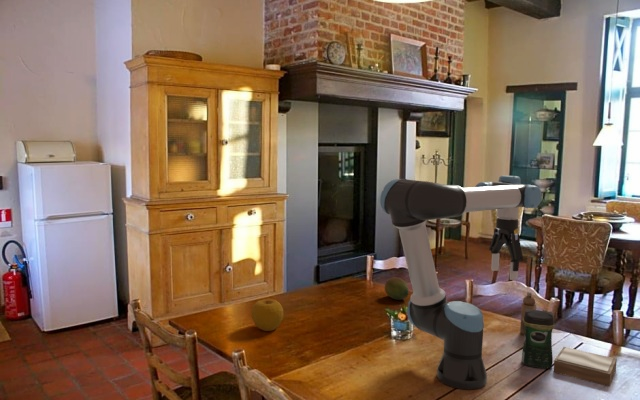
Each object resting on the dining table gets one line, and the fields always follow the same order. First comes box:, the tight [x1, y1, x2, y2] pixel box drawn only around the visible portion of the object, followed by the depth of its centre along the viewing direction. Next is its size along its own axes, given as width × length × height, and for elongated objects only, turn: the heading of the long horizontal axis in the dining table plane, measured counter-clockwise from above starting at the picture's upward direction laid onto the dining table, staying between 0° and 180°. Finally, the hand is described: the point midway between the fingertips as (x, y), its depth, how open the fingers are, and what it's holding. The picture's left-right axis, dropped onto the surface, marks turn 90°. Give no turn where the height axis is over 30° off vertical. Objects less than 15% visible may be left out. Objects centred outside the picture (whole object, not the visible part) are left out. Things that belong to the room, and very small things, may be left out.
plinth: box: [553, 346, 617, 387], centre depth 165 cm, size 14×16×4 cm
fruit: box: [384, 276, 409, 301], centre depth 241 cm, size 12×13×10 cm
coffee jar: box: [521, 309, 555, 369], centre depth 170 cm, size 10×8×19 cm
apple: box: [250, 298, 284, 332], centre depth 201 cm, size 13×13×11 cm
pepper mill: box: [519, 291, 537, 337], centre depth 197 cm, size 5×5×17 cm
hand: (503, 275), depth 187 cm, fingers open, 13 cm apart
